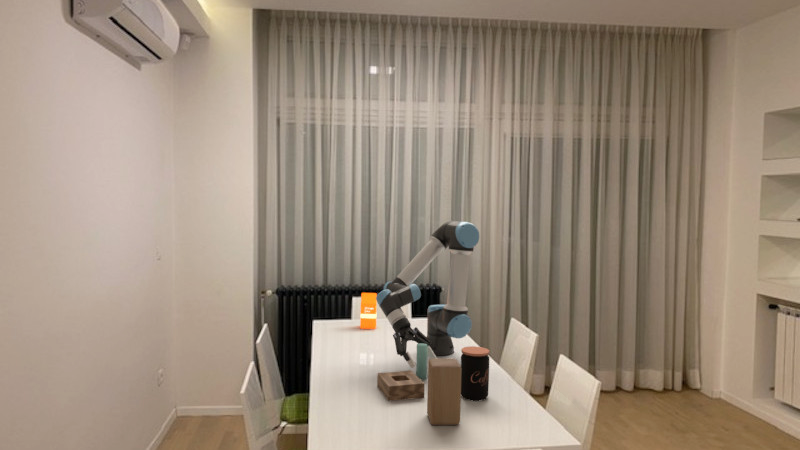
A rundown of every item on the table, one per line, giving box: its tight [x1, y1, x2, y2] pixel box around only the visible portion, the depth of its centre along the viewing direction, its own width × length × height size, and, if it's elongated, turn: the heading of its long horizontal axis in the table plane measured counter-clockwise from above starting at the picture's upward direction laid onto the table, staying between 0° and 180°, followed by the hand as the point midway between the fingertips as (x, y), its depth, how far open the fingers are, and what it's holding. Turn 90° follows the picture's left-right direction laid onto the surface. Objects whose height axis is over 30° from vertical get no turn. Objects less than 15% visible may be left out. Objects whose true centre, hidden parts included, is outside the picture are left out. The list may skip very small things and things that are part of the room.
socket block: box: [376, 370, 425, 402], centre depth 216 cm, size 14×16×6 cm
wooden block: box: [426, 358, 462, 426], centre depth 189 cm, size 10×10×20 cm
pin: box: [415, 343, 428, 380], centre depth 234 cm, size 4×4×14 cm
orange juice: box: [359, 292, 378, 330], centre depth 323 cm, size 8×9×20 cm
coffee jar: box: [460, 346, 490, 402], centre depth 213 cm, size 11×11×18 cm
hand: (424, 363), depth 232 cm, fingers open, 13 cm apart
